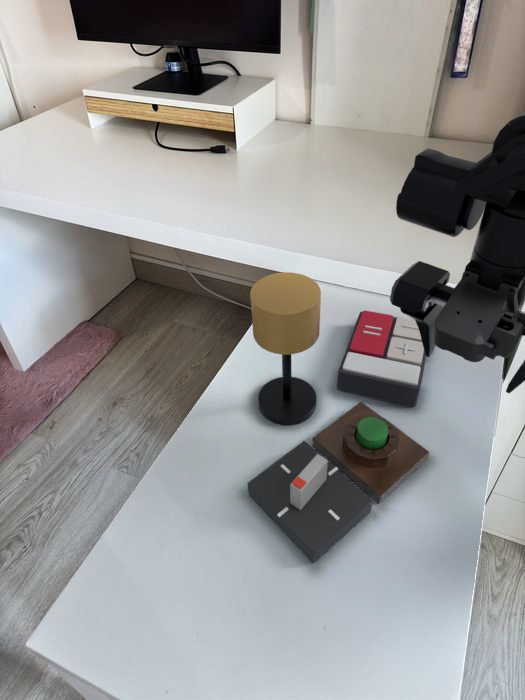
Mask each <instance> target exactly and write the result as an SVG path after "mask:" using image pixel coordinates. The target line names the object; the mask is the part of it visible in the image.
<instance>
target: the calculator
mask: <svg viewBox="0 0 525 700" xmlns="http://www.w3.org/2000/svg"><path fill="white" fill-rule="evenodd" d="M426 361H427V356H425V352H424V348H423V344H422V339H421V335H420V332H419V329H418V326H417V323H416V321H415V320H414V319H413V318H411V317H404V316H394V315H392V314H387V313H382V312H376V311H371V310H362V311H360V312H359V314H358V315H357V318H356V321H355V324H354V326H353V329H352V333H351V335H350V338H349V341H348V343H347V346H346V349H345V351H344V354H343V357H342V360H341V362H340V365H339V368H338V373H337V384H336V389H337V390H338V391H342V392H345V393H350V394H356V395H360V396H363V397H368V398H371V399H376V400H381V401H385V402H391V403H394V404H399V405H403V406H407V407H412V408H415V407H417V404H418V400H419V396H420V392H421V388H422V382H423V378H424V377H423V376H424V371H425V366H426Z"/></svg>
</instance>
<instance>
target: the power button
mask: <svg viewBox="0 0 525 700" xmlns="http://www.w3.org/2000/svg"><path fill="white" fill-rule="evenodd" d="M387 436H388V427H387V425H386V423H385V422H384V421H382V420H381V419H379V418H376V417H367V418H364V419H362V420H361V421H360V422H359V424H358V427H357V435H356V437H357V441H358V442H359V444H360V445H361V446H363V447H364V448H367V449H371V450H375V449H379V448H381V447H383V446H384V445H385V443H386V441H387Z"/></svg>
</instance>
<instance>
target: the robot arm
mask: <svg viewBox="0 0 525 700" xmlns="http://www.w3.org/2000/svg"><path fill="white" fill-rule="evenodd" d="M491 150H492V151H490V152H489V153H488V154H486V155H485V156H484V157H482V158H481V159H479V160H478V161H477V162H475V161H471V160H467V159H463V158H459V157H455V156H452V155H448V154H446V153H444V152H441V151H440V150H437V149H432V148H430V147H429V148H428V147H427V148H426V149H424V150H423V151H421V152H420V153H418V154H417V155H415V157H414V162H413V167H412V168H411V169H410V171H409V173H408V174H407V177H406V178H405V180H404V182H403V185H402V187H401V190H400V192H399V193H398V195H397V198H396V203H395V204H396V205H395V211H396V215H397V218H398V219H399V220H402V221H404V222H407V223H409V224H413V225H416V226H420V227H422V228H425V229H428V230H431V231H434V232H437V233H440V234H443V235H446V236H449V237H452V238H456V237H459V235H460V234H461V233H462V232H463V231H464V230H467V231H471V230H473V229H474V228H475V227H476V226H477V224H479V227H478V231H477V234H476V239H475V242H474V245H473V248H472V252H471V256H470V258H469V259H470V260H469V262H468V263H467V264H466V265H465V268H464V271H463V272H462V276H461V279H460V280H459V281H458V283H457V284H456V285H455V287H453V286H451V285H450V286H449V285H447V284H448V283H449V282H450V277H451V273H450V271H449V270H447V269H444V268H441V267H438V266H435V265H433V264H429V263H427V262H423V261H421V260H418V261H416V262H414V263H413V264H411V266H409V267H408V268H407V269H406V270H405V271H404V272H403V273H402V274H401V275H400V276H399V277H398V278H397V279H395V281H394V282H393V285H392V286H391V289H390V290H391V292H390V296H389V301H390V303H391V305H392V306H394V307H396V308H399V310H400V312H401V313H402V314H403V315H406V316H407V317H409V318H410V319H414V320H415V321H416V323H417V326H418V329H419V332H420V335H421V339H422V344H423V348H424V352H425V356H426V358H430V357H431V356H432V354H433V353H434V351H435V348H436V347H437V348H439V350H442V351H447V352H449V353H452V354H454V355H457V356H459V357H461V358H463V360H466V361H468V362H471V363H478V362H479V363H480V362H481V361H483V360H484V359H485V358H488V359H490V360H495V359H496V357H502V358H505V359H508V358H510V356H511V355H512V353H513V351H514V349H515V347H517V345H518V343H519V341H520V340H521V337H522V336H523V337H525V311H522V310H523V307H524V305H525V110H523V111H522V112H521V113H520V114H518V115H516V116H514V118H512V119H511V120H509V121H508V122H507V123H506V124H505V125H504V126H503V127H502V128H501V129H500V130H499V132H498V133H497V135H496V137H495V139H494V141H493V145H492V149H491ZM479 221H480V223H478V222H479ZM524 382H525V359H524V360H523V361H522V363H521V364H520V365H519V367H518V368H517V370H516V372H515V373H514V375H513V376H512V378H511V380H510V381H509V383H508V384H507V387H506V390H505V393H507V394H511V393H512V392H513V391H515V390H516V389H517V388H518V387H519V386H521V385H522V384H523V383H524Z"/></svg>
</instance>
